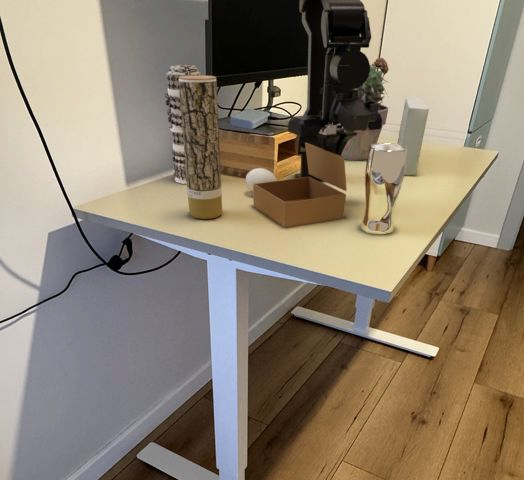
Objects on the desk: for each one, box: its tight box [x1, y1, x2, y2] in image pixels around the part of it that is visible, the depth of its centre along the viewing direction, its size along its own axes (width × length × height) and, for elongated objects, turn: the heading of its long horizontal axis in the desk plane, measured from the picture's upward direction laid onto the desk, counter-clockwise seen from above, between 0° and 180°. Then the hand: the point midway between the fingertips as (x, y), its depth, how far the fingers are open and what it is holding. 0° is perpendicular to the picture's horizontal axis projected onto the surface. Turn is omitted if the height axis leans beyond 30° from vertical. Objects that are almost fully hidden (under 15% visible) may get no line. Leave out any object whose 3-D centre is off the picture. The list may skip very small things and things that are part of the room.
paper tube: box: [178, 75, 223, 220], centre depth 95 cm, size 7×7×25 cm
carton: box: [252, 177, 347, 229], centre depth 102 cm, size 15×14×5 cm
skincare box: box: [396, 97, 430, 176], centre depth 132 cm, size 21×5×16 cm, turn 168°
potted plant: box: [341, 57, 392, 161], centre depth 138 cm, size 18×20×25 cm
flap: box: [305, 143, 348, 192], centre depth 101 cm, size 14×7×1 cm
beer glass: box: [360, 142, 407, 235], centre depth 91 cm, size 7×7×15 cm
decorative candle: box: [164, 64, 203, 185], centre depth 117 cm, size 9×9×25 cm
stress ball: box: [245, 167, 278, 193], centre depth 113 cm, size 8×8×7 cm
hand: (332, 168), depth 102 cm, fingers closed
